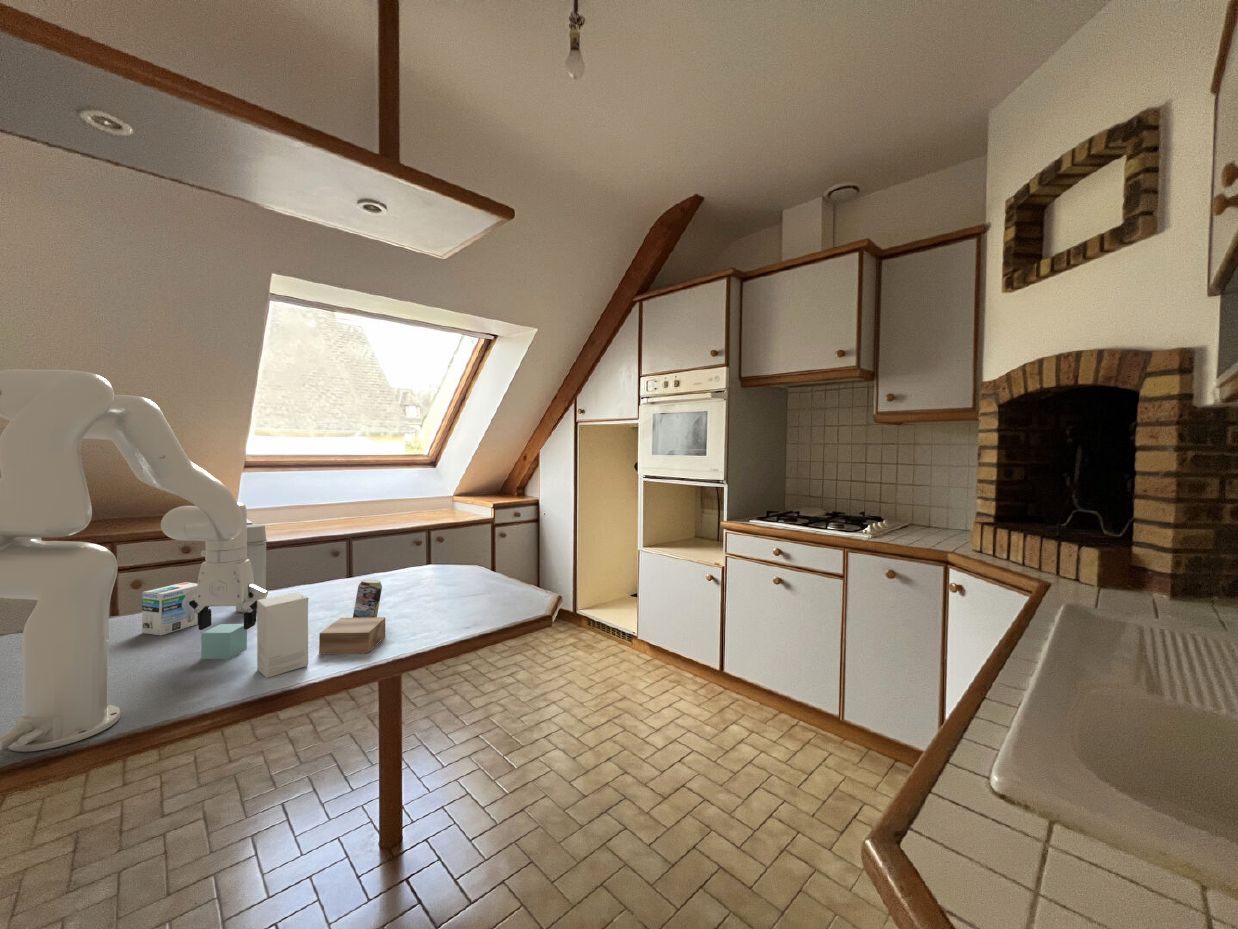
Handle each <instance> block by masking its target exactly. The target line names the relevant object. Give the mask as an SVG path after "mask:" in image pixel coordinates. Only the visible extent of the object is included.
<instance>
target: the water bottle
mask: <svg viewBox="0 0 1238 929" xmlns="http://www.w3.org/2000/svg"><path fill="white" fill-rule="evenodd" d="M266 534H267V533H266V525H265V524H259V523H258V524H256V523H255V524H247V559H249V560H250V563H251V566H252V571H253V578H254V585H255V586H257V587H259V588H262V589H264V590H266V591H267V587H266V586H267V581H266V580H267V542H268V538H267V535H266ZM257 598H258V596H257V595H256V594H254V597H253V599H254V600H255V601H256V600H257ZM266 598H267V597H266ZM266 598H265V599H266ZM235 610H236V611H237V613H242V614H244V613H245V612H246V610H245V609H244V608H243V607H242V606H241V605H239V606H235ZM256 612H257V609H256Z"/></svg>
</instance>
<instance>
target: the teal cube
mask: <svg viewBox="0 0 1238 929" xmlns="http://www.w3.org/2000/svg"><path fill="white" fill-rule="evenodd" d="M200 640H201V641H200V642H201V644H200V645H201V647H200V649H201V650H200V651H201V652H200V659H201V660H228V659H232V658H233V657H235V656H237V655H239V653H242V652H244V650H247V648H248V645H247V644H248V629H244V623H220V624H217V625H216V626H213V627H211V628H209V629H207V630H205V631H203V632H201V638H200Z"/></svg>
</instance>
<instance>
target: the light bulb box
mask: <svg viewBox="0 0 1238 929" xmlns="http://www.w3.org/2000/svg"><path fill="white" fill-rule="evenodd" d="M196 588H197V583H195V582H186V581H184V582H181V583H175V584H171V585H167V586H163V587H158V588H154V589H150V590H145V591H142V600H141V602H142V604H141V605H142V606H141V634H146V635H147V634H148V635H154V636H164V635H168V634H170V633H175V632H178V631H180V630H184V629H187V628H190V626H191V627H194V626H197V625H198V613H195V611H194V610H195V609H193V608H192V607H191V606H190V605H189V602H188V600H187V598H186V597H185V594H186V593H188V592H190V591H192V590H194V589H196ZM196 596H197V595H196Z"/></svg>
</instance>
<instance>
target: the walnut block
mask: <svg viewBox="0 0 1238 929" xmlns="http://www.w3.org/2000/svg"><path fill="white" fill-rule="evenodd" d="M384 636H385V637H386V617H381V616H380V617H378V616H377V617H368V618H353V617H340V618H339V619H337V620H335V621H334V622H333V623H331V624H330V625H329V626H327V627H326V628H325V629H324V630H321V631H320V632H319V636H318V638H319V642H318V644H319V645H318V654H319V655H351V654H350V653H366V654H369V653H370V652H371V651H372V650H373V649H374V648H375V647H376V646H377V645H378V644H379V643H380V642H381V641H382V640H383V639H384V638H385V637H384ZM383 637H384V638H383ZM382 638H383V639H382ZM381 639H382V640H381ZM380 640H381V641H380ZM379 641H380V642H379ZM378 642H379V643H378ZM377 643H378V644H377ZM376 644H377V645H376ZM375 645H376V646H375ZM374 646H375V647H374ZM373 647H374V648H373ZM372 648H373V649H372ZM371 649H372V650H371ZM370 650H371V651H370ZM369 651H370V652H369ZM368 652H369V653H368ZM346 653H347V654H346Z"/></svg>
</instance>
